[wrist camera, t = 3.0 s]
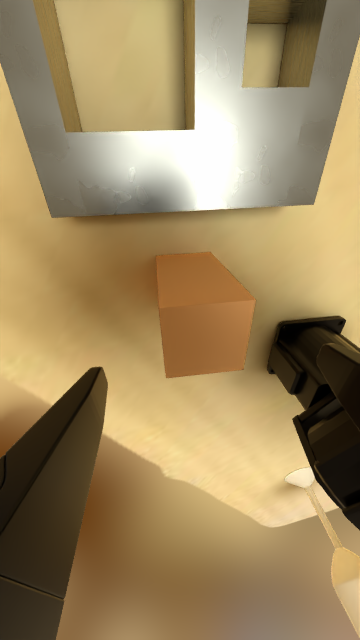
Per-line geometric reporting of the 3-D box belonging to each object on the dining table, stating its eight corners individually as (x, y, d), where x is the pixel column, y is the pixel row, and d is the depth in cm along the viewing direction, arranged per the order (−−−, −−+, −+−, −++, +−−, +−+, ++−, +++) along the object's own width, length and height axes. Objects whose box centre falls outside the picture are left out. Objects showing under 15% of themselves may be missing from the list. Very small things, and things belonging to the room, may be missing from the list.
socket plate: (361, -173, 8) (466, -358, 5) (284, 202, 14) (313, 204, 11) (-49, -214, 6) (-178, -473, 4) (71, 212, 13) (51, 217, 10)
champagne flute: (296, 467, 38) (463, 786, 17) (325, 467, 39) (509, 760, 19) (278, 483, 41) (400, 768, 21) (305, 483, 42) (444, 747, 22)
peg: (210, 252, 15) (256, 300, 8) (208, 300, 17) (243, 369, 11) (156, 255, 15) (158, 308, 8) (160, 304, 17) (166, 378, 10)
